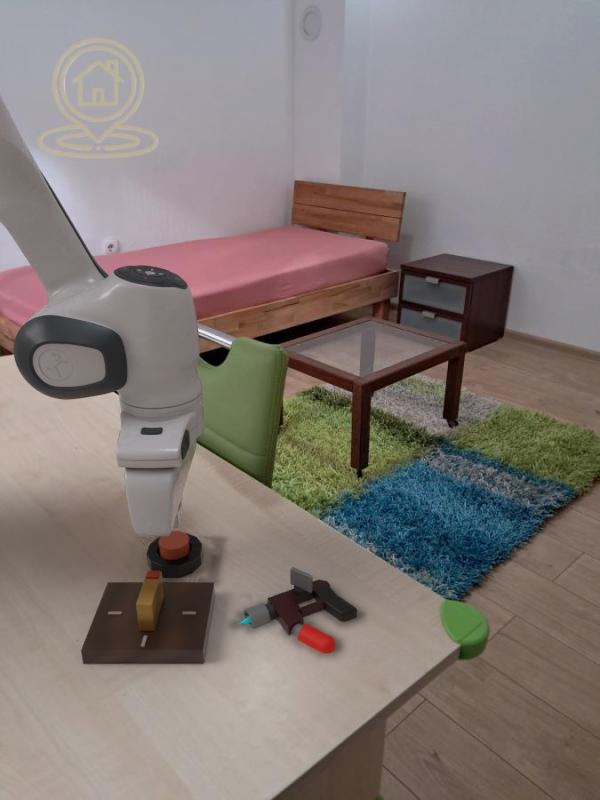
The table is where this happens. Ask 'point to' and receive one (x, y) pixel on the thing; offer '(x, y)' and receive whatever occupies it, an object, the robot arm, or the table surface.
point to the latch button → (174, 545)
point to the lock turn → (150, 601)
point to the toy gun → (302, 610)
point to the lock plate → (174, 634)
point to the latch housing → (175, 566)
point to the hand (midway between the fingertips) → (173, 521)
